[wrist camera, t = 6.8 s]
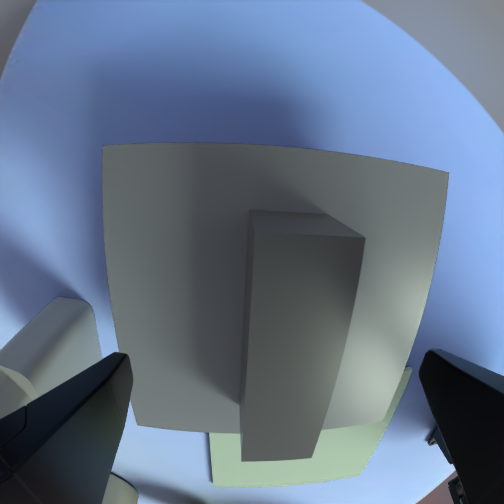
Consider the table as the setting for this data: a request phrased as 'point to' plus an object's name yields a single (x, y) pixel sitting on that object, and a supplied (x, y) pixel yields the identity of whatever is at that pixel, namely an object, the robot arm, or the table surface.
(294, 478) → the mat
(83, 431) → the robot arm
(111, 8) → the table surface
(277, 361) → the lid
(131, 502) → the travel mug
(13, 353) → the power adapter
